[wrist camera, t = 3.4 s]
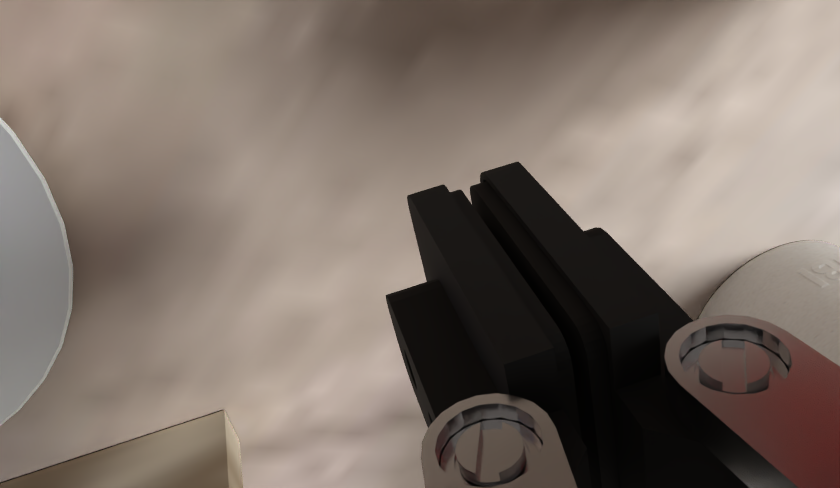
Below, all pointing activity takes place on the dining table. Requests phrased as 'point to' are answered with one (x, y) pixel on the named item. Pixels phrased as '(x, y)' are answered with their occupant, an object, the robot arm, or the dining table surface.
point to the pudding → (29, 276)
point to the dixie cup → (789, 293)
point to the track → (154, 461)
